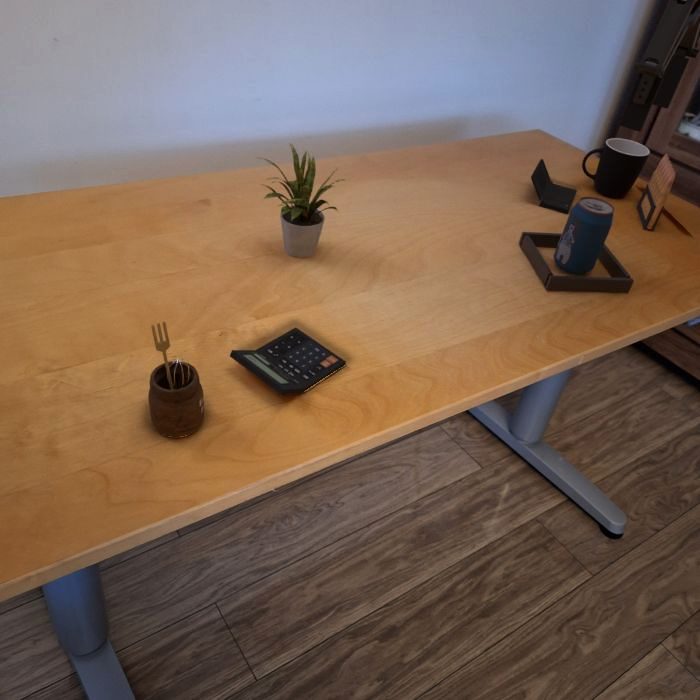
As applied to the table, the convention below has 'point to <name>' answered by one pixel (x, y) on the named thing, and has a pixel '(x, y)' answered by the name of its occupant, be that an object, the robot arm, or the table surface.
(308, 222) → the house plant
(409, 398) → the table surface
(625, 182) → the mug
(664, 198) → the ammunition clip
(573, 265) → the soda can
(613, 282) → the dark brown square frame
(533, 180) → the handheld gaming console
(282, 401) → the table surface
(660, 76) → the robot arm
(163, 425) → the utensil holder
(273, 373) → the calculator
